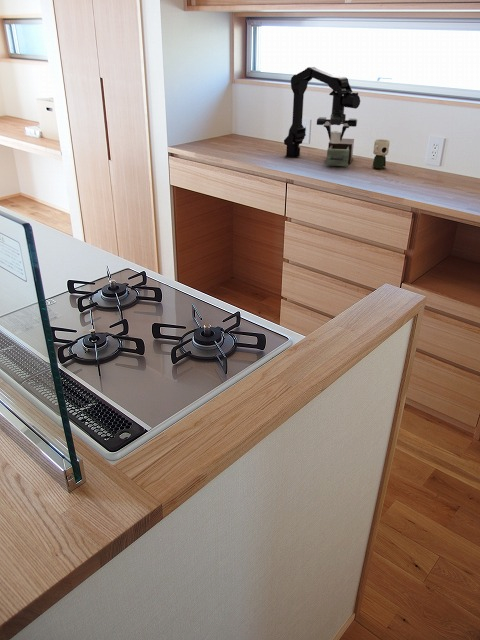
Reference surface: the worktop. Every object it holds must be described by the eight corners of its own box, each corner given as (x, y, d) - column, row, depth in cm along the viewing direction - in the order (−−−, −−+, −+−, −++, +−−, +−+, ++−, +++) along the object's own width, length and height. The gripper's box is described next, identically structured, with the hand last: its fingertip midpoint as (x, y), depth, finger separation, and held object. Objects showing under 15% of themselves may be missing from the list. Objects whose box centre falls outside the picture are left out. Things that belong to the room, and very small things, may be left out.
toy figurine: (378, 171, 260) (381, 143, 253) (365, 168, 264) (369, 141, 258) (391, 167, 266) (395, 140, 260) (379, 165, 271) (382, 138, 264)
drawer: (346, 168, 260) (348, 152, 256) (325, 167, 262) (326, 150, 258) (349, 160, 274) (351, 145, 270) (328, 159, 277) (330, 143, 273)
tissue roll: (329, 143, 262) (330, 132, 260) (330, 141, 266) (331, 130, 264) (339, 143, 261) (340, 133, 259) (340, 142, 265) (341, 131, 263)
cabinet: (350, 163, 272) (352, 144, 268) (327, 162, 275) (328, 142, 270) (352, 157, 284) (354, 139, 279) (329, 156, 286) (331, 137, 282)
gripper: (316, 107, 251) (313, 142, 258) (357, 109, 247) (353, 144, 254) (319, 104, 260) (317, 138, 268) (358, 106, 256) (355, 140, 264)
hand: (335, 140), depth 263 cm, fingers closed on tissue roll, 5 cm apart
